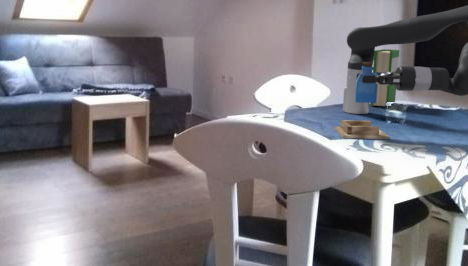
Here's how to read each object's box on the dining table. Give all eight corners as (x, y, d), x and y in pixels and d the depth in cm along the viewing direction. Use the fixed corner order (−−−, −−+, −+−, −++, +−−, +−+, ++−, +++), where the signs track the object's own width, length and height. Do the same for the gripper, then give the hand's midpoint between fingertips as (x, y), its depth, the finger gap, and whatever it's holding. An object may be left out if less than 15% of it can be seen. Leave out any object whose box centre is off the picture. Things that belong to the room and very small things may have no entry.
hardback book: (387, 108, 214) (392, 51, 209) (370, 106, 217) (374, 50, 212) (394, 103, 230) (399, 49, 225) (378, 101, 233) (382, 49, 228)
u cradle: (343, 138, 153) (343, 127, 152) (334, 129, 167) (335, 119, 166) (389, 139, 153) (390, 128, 152) (376, 129, 167) (377, 120, 166)
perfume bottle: (376, 103, 154) (379, 63, 152) (355, 102, 155) (357, 63, 153) (374, 100, 160) (377, 62, 158) (354, 99, 161) (357, 61, 159)
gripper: (406, 64, 162) (354, 64, 162) (422, 68, 148) (366, 67, 148) (404, 88, 164) (353, 87, 164) (420, 93, 150) (364, 92, 150)
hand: (359, 78), depth 156 cm, fingers closed on perfume bottle, 7 cm apart
